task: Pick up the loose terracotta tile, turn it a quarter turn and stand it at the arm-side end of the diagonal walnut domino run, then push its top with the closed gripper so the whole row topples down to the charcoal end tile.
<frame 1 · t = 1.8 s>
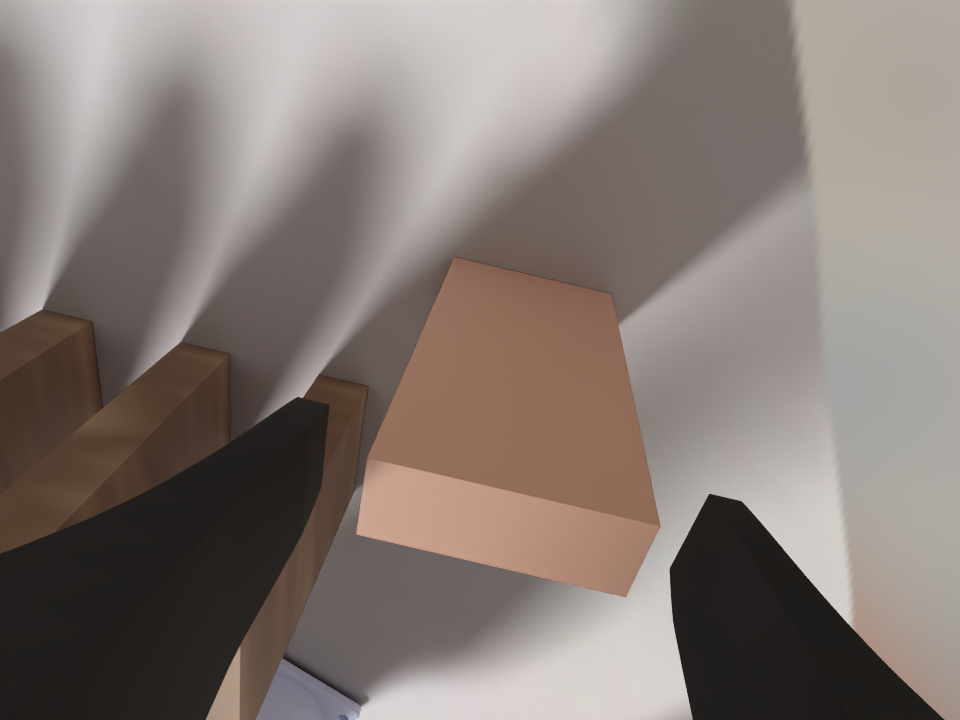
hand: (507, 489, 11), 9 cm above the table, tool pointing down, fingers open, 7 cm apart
walnut tile 4: (75, 374, 23), on the table
walnut tile 3: (206, 405, 23), on the table
terracotta tile: (526, 301, 19), on the table
walnut tile 2: (337, 436, 23), on the table
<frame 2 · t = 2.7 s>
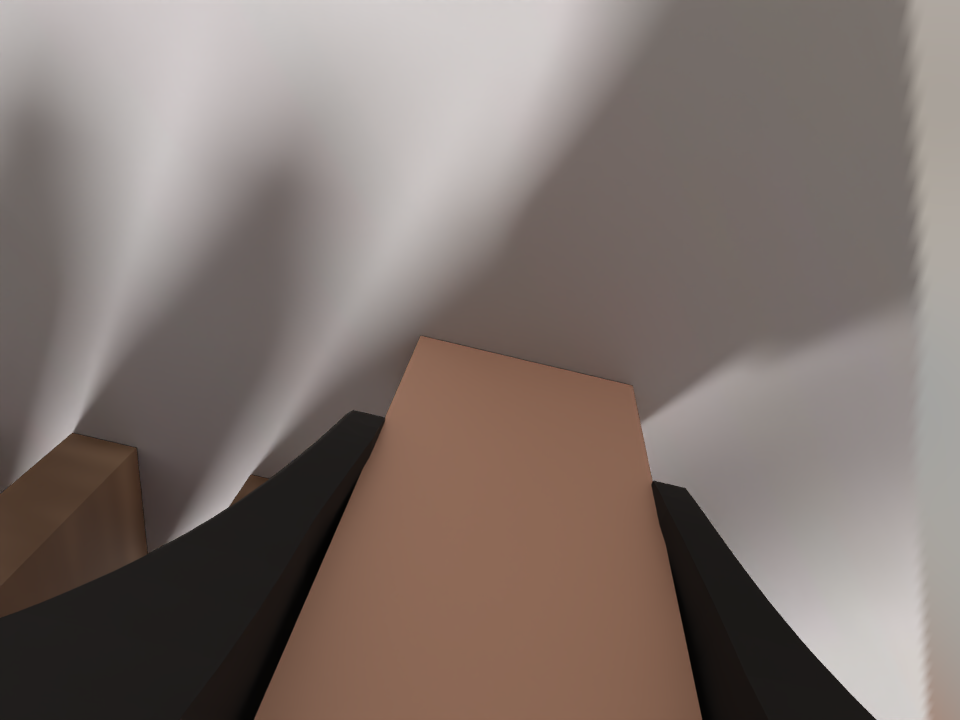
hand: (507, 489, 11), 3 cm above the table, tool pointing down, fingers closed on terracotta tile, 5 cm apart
walnut tile 3: (113, 506, 18), on the table
terracotta tile: (517, 392, 14), on the table, touching gripper
walnut tile 2: (279, 545, 18), on the table
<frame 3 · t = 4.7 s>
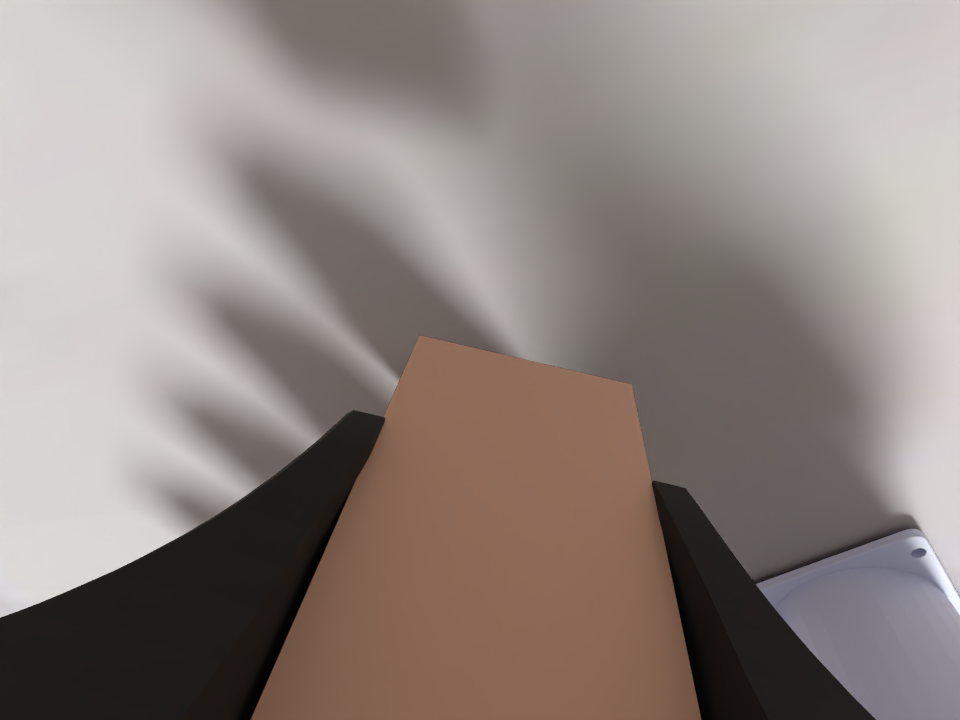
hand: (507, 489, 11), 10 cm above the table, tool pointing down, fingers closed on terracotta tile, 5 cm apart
terracotta tile: (516, 391, 14), point 7 cm above the table, touching gripper
when the fingers open (4 cm above the table, at t = 6.5 s): terracotta tile drops 1 cm, on the table.
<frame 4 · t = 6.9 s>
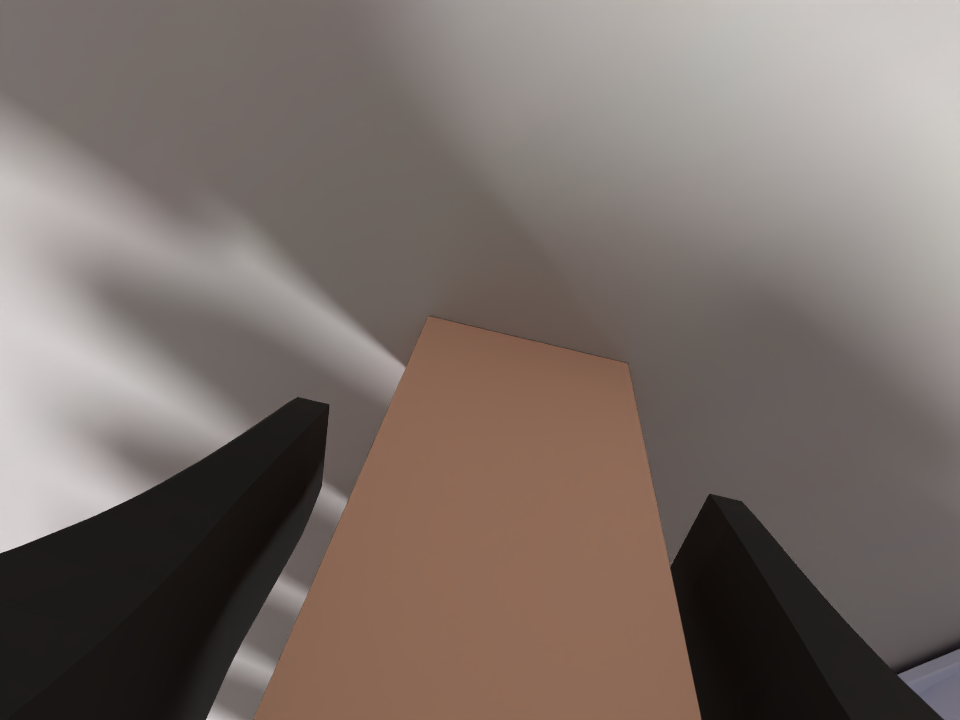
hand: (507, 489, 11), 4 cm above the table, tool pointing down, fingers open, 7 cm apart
terracotta tile: (519, 370, 15), on the table
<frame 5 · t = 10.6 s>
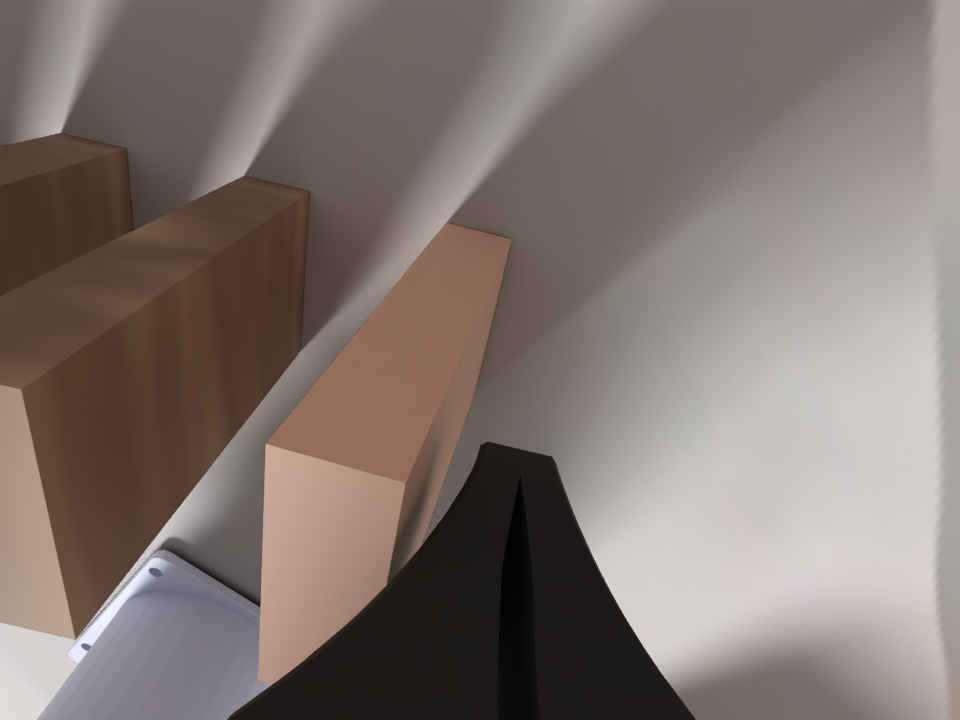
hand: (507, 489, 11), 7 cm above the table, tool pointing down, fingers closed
walnut tile 3: (103, 230, 17), on the table
terracotta tile: (461, 314, 17), on the table
walnut tile 2: (274, 270, 17), on the table
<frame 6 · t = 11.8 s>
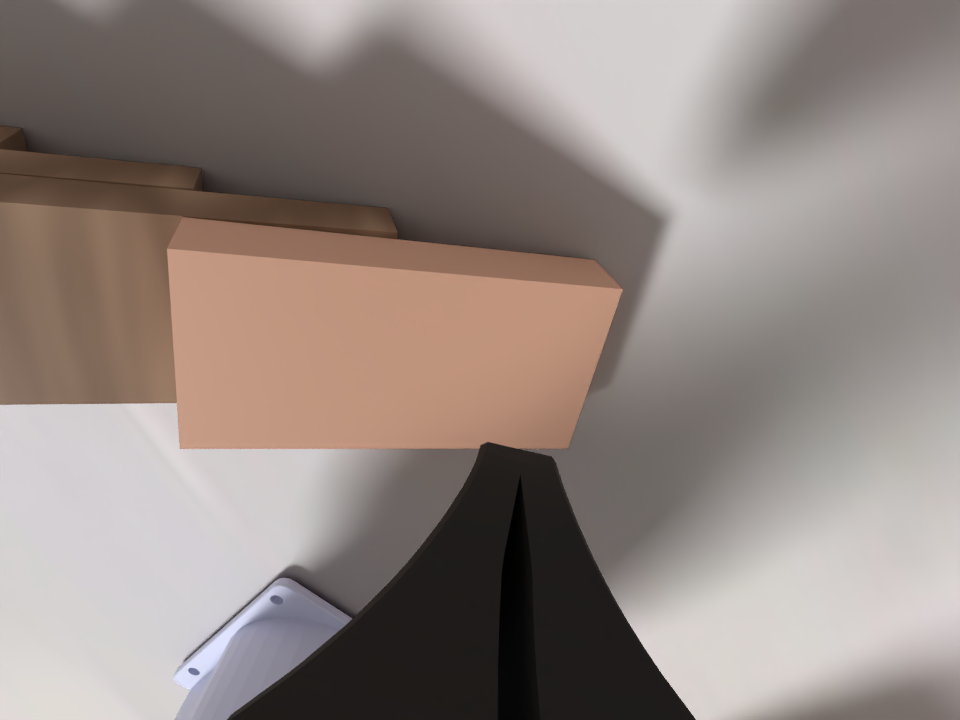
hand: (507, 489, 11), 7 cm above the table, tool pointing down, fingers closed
walnut tile 4: (30, 230, 17), point 1 cm above the table, tilted 68°, touching charcoal end tile, walnut tile 3
walnut tile 3: (203, 268, 17), point 1 cm above the table, tilted 68°, touching walnut tile 2, walnut tile 4
terracotta tile: (580, 357, 17), point 1 cm above the table, tilted 70°, touching walnut tile 2
walnut tile 2: (383, 307, 17), point 1 cm above the table, tilted 69°, touching terracotta tile, walnut tile 3
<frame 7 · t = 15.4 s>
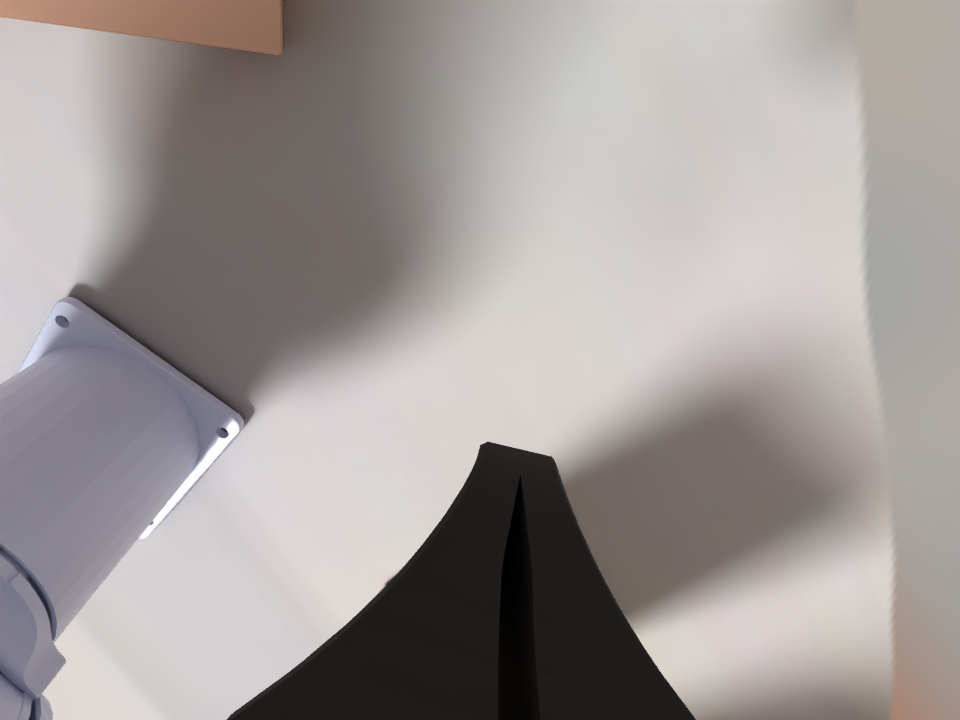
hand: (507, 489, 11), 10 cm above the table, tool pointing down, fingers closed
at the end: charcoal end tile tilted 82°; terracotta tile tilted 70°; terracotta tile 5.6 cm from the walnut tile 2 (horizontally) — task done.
